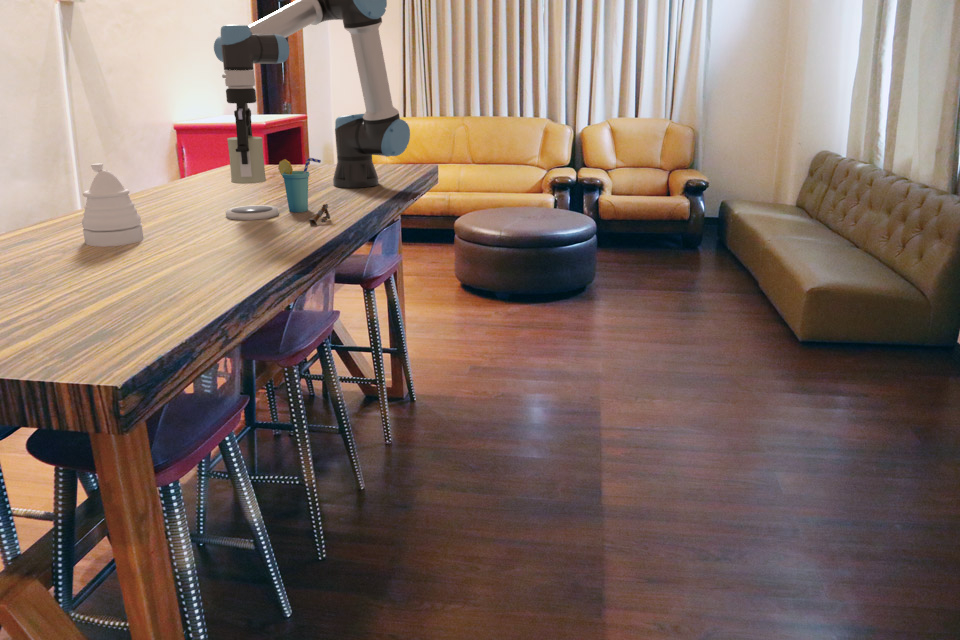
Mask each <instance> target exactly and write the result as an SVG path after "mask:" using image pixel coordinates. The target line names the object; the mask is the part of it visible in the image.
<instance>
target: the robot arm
mask: <svg viewBox="0 0 960 640" xmlns="http://www.w3.org/2000/svg"><path fill="white" fill-rule="evenodd" d="M387 5H388V2H387V0H294V1H293V2H290V3H289V4H286V5H284V6H283V7H281V8H279V9H278V10H276V11H274V12H272V13H270V14H268V15H266V16H264V17H263V18H260V19H259V20H257V21H255V22H253V23H251V24H249V25H246V24H224V25H223V26H221V28H220V36H218V37H217V38H216V39H215V41H214V43H213V52H214V55H215V56H216V58H217V60H219V62H221V63H223V72H224V73H223V74H222V76H221V77H222V79H224V81H225V82H224V83H225V87H227V88H226V89H225V94H226V95H225V96H226V102H227V103H228V104H236V106H235V107H236V109H235V110H234V111H233V112H234V118H235V127H236V137H237V145H238V147H237V149H236V152H239V159H240V170H241V177H252V172H251V160H250V151H249V145H248V136H252V137H254V135H253V130H252V110H251V109H250V107H249V106H248V105H249V104H255V103H257V92H256V89H255V86H256V78H255V76H256V75H255V69H254V65H255V64H263V65H265V64H270V65H271V64H272V65H273V64H274V65H277V64H282V63H285V62H286V61H287V60H288V59H289V55H290V45H289V42H288V40H287V38H288V37H290V36H292V35H293V34H295V33H297V32H299V31H301V30H303V29H304V28H306V27H308V26H310V25H312V26H317V25H319V24H321V23H323V22H326V21H327V22H328V21H334V20H336V21H337V20H338V21H342V24H343V27H344V30H346V31H347V32H348V33H350V37H351V43H352V46H353V52H354V53H353V54H354V57H355V62H356V67H357V71H358V72H357V73H358V77H359V82H360V88H361V92H362V96H363V97H362V98H363V102H364V106H365V113H359V114H357V113H355V114H348V115H341V116H338V117H336V119H335V121H334V123H335V124H334V125H335V128H334V134H335V145H336V156H337V157H336V160H337V161H336V162H337V163H336V166H335V170H334V175H333V179H332V180H333V181H332V182H333V186H334V187H336V188H337V187H338V188H346V189H347V188H348V189H349V188H351V189H352V188H357V189H358V188H359V189H360V188H368V187H369V188H370V187H375V186H377V185H379V182H380V181H379V176H378V173H377V170H376V167H375V164H374V163H373V156H383V157H385V158H386V157H398V156H400V155H402V154H403V153H404V152H405V151H406V149H407V148H408V145H409V143H410V139H411V131H410V126H409V124H408V122H406V121H405V120H404V119H402V118H400V113H399V109H397V108H395V106H394V105H393V100H392V95H391V90H390V85H389V78H388V73H387V68H386V62H385V58H384V57H385V55H384V52H383V46H382V41H381V36H380V30H379V29H380V26H381V25H382V23H383V19H382V17H383V16H384V15H385V12H386V8H387Z"/></svg>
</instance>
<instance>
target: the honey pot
mask: <svg viewBox="0 0 960 640" xmlns="http://www.w3.org/2000/svg"><path fill="white" fill-rule="evenodd" d="M90 167H91V169H92V170H93V171H94V172H95V173H96V175H95V176H94V178H93V180H92V182H91V183H90V184H91V185H90V188H89V189H88V190H85V191H83V193H82V196H83V197H85V198H86V203H85V205H84V207H83V208H84V212H83V218H82V219H81V224H82V228H83V229H82V231H83V238H84V243H85V245H87V246H91V247H101V248H102V247H116V246H117V247H118V246H126V245H132V244H135V243H139V242H141V241H142V240H143V241H144V232H143V224H142V217H141V214H139V213H138V209H137V208H136V207H135V202H133V201H132V199H131V196H129V194H130V190H129V189H128V188H125V187H124V185H123V183H122V182H121V180H120V179H119V178H118V177H117V176H116V175H115V174H114V173H113V172H112V171H110V170H108V169H103V168H104V163H102V162H101V163H90Z"/></svg>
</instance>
